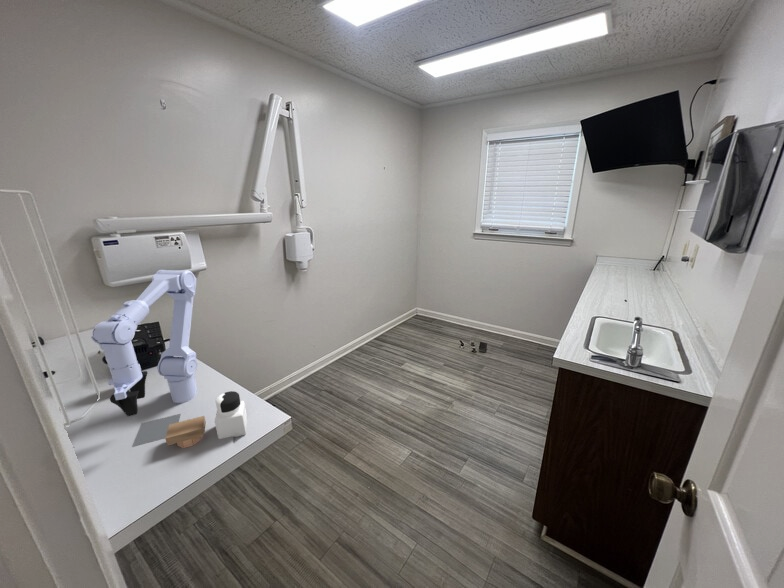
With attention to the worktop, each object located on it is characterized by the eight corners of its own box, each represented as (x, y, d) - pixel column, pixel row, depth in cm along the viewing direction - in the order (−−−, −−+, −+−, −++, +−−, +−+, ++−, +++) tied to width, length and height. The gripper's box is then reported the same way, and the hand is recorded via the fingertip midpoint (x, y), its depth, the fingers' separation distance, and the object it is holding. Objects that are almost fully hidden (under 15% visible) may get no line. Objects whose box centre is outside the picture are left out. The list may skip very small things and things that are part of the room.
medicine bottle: (247, 418, 96) (241, 386, 92) (246, 435, 90) (240, 400, 86) (221, 424, 94) (214, 391, 90) (218, 441, 87) (211, 406, 84)
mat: (142, 425, 93) (141, 423, 93) (181, 415, 97) (180, 413, 97) (132, 449, 85) (131, 446, 84) (175, 437, 89) (175, 435, 88)
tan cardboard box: (171, 431, 87) (169, 424, 86) (205, 422, 90) (204, 415, 90) (167, 445, 82) (165, 438, 81) (204, 435, 86) (202, 428, 85)
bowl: (180, 437, 89) (178, 429, 88) (202, 431, 91) (200, 423, 90) (177, 452, 84) (174, 443, 83) (200, 445, 86) (198, 436, 85)
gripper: (113, 353, 86) (126, 394, 90) (92, 381, 74) (108, 427, 78) (144, 348, 89) (155, 388, 93) (129, 374, 77) (143, 419, 81)
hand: (136, 405), depth 86 cm, fingers open, 7 cm apart
